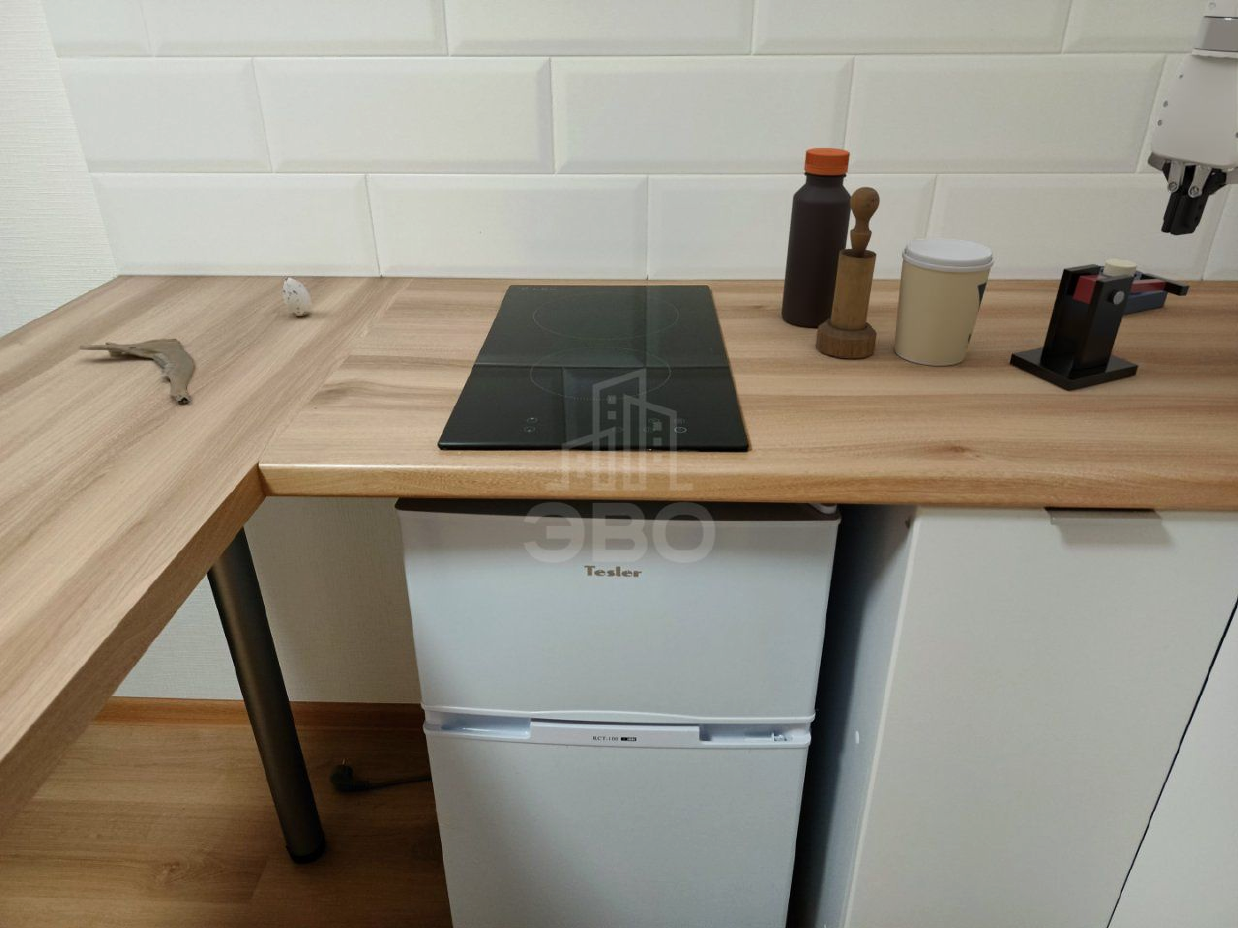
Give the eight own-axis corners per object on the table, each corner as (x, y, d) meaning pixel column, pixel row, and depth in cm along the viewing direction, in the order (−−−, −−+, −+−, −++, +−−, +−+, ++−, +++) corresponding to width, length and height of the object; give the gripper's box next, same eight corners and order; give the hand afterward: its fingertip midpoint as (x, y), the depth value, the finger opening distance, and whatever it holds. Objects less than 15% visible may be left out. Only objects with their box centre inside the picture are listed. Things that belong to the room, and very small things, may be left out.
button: (1115, 270, 113) (1119, 257, 113) (1139, 278, 111) (1143, 264, 110) (1096, 273, 112) (1099, 260, 111) (1120, 281, 109) (1124, 268, 108)
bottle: (812, 332, 103) (834, 159, 94) (769, 317, 108) (785, 150, 98) (847, 319, 107) (870, 152, 97) (804, 306, 112) (822, 144, 102)
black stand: (1074, 349, 99) (1100, 257, 93) (1135, 375, 92) (1167, 277, 87) (1008, 363, 95) (1032, 268, 90) (1068, 391, 89) (1097, 290, 84)
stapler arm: (1142, 288, 96) (1150, 267, 95) (1184, 301, 93) (1192, 279, 91) (1061, 294, 91) (1068, 272, 90) (1101, 308, 87) (1109, 285, 86)
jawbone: (159, 343, 102) (156, 326, 101) (263, 387, 92) (261, 369, 91) (80, 361, 96) (76, 343, 95) (182, 411, 85) (179, 391, 84)
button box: (1110, 289, 118) (1118, 260, 116) (1163, 306, 112) (1173, 276, 110) (1057, 298, 115) (1065, 269, 113) (1109, 317, 108) (1118, 286, 106)
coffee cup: (986, 368, 94) (1011, 260, 88) (902, 370, 94) (921, 261, 88) (953, 337, 102) (973, 236, 96) (875, 338, 102) (891, 237, 96)
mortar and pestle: (881, 345, 100) (906, 186, 91) (864, 363, 95) (890, 197, 86) (825, 334, 103) (845, 179, 94) (807, 352, 98) (826, 190, 89)
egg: (314, 318, 108) (307, 279, 105) (287, 321, 107) (280, 282, 104) (312, 310, 110) (305, 272, 108) (286, 313, 109) (278, 274, 107)
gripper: (1350, 44, 77) (1271, 247, 86) (1194, 35, 89) (1139, 214, 98) (1298, 45, 75) (1221, 254, 84) (1144, 35, 86) (1092, 219, 95)
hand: (1177, 232), depth 91 cm, fingers closed
